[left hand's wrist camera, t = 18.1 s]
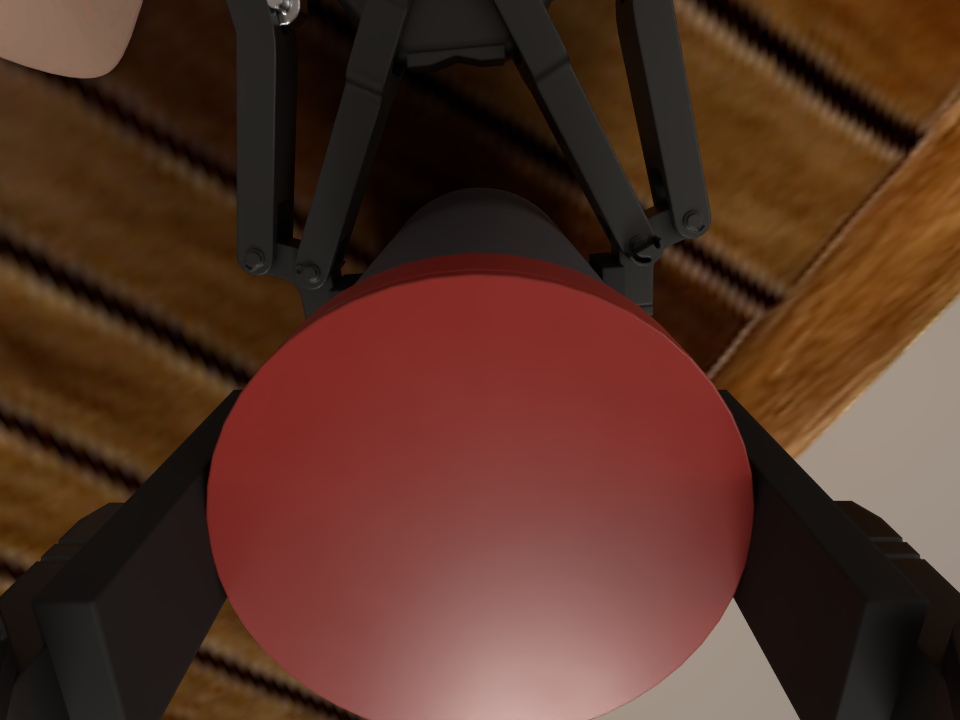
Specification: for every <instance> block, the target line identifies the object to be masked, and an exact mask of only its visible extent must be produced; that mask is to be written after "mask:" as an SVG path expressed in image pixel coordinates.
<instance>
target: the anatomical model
mask: <svg viewBox="0 0 960 720" xmlns="http://www.w3.org/2000/svg"><path fill="white" fill-rule="evenodd" d="M142 2H143V0H0V57H1V58H4V59H7V60H10V61H13V62H15V63H18V64H21V65H24V66H27V67H31V68H34V69H37V70H41V71H44V72H48V73H52V74H57V75H62V76H68V77H75V78H95V77H99V76H103V75H105V74H107V73H108V72H110V71H111V70H112V69H113V68H114V67H115V66H116V65H117V64H118V62H119V61H120V59H121V58H122V56H123V54H124V52H125V50H126V47H127V45H128V43H129V41H130V39H131V36H132V33H133V30H134V27H135V24H136V21H137V17H138V14H139V11H140V8H141V5H142Z"/></svg>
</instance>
